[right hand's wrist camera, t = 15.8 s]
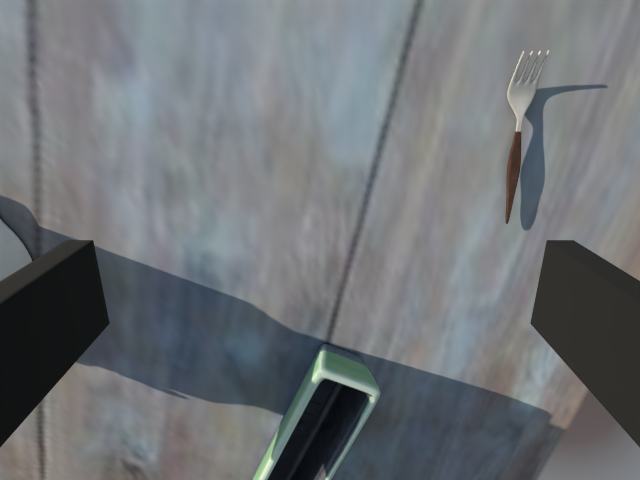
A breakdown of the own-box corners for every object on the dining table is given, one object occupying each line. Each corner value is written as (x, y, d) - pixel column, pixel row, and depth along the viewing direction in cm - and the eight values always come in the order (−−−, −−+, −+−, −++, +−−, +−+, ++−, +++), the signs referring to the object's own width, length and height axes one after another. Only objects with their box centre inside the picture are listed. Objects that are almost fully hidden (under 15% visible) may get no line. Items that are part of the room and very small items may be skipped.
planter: (318, 328, 48) (318, 369, 41) (375, 350, 49) (384, 393, 42) (236, 491, 57) (224, 547, 50) (286, 507, 58) (281, 563, 51)
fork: (491, 222, 43) (499, 228, 41) (511, 52, 38) (521, 51, 36) (517, 221, 43) (526, 227, 41) (540, 51, 38) (552, 50, 36)
